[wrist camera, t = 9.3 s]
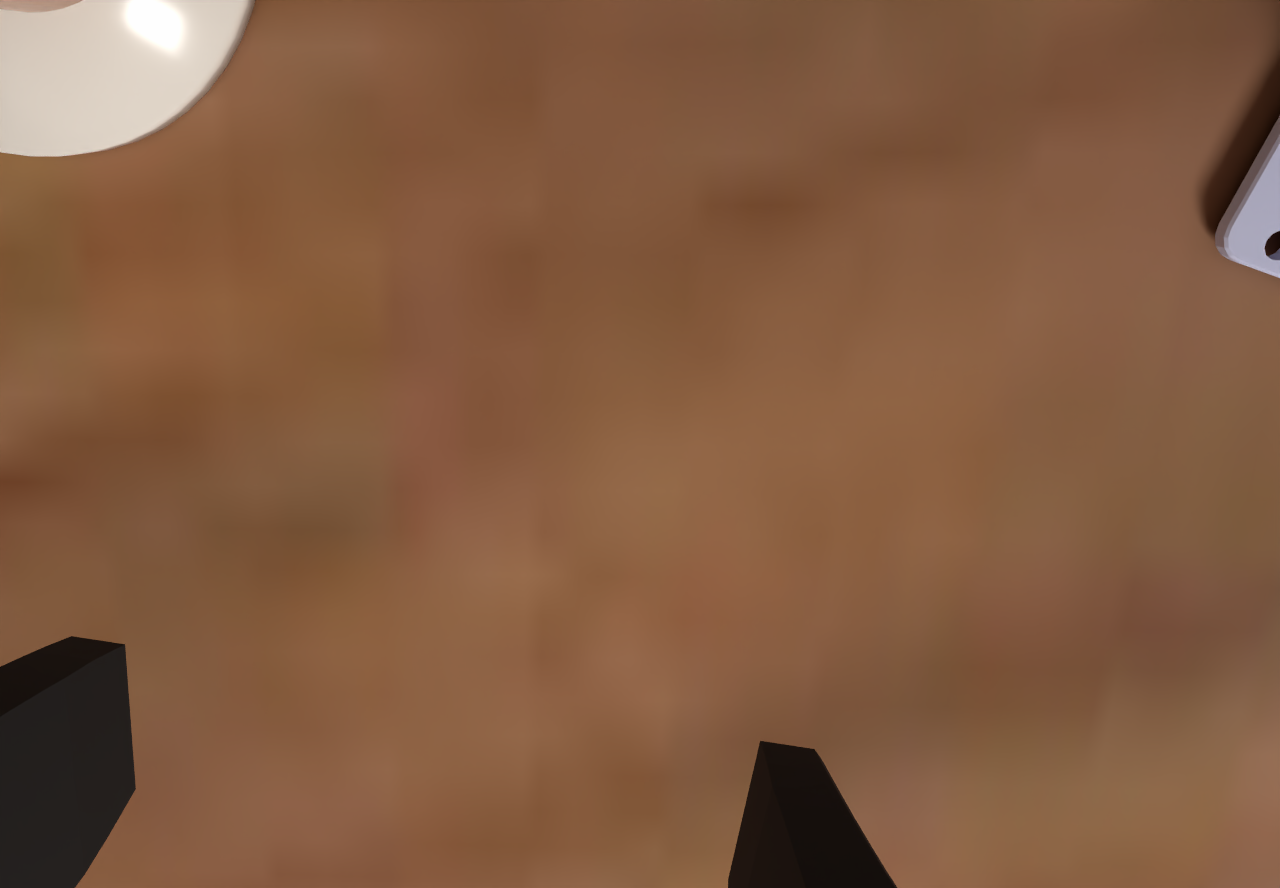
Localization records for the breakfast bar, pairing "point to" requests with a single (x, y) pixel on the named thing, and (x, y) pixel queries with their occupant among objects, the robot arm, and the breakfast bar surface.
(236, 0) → the coaster
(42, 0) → the flower pot
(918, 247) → the breakfast bar surface
